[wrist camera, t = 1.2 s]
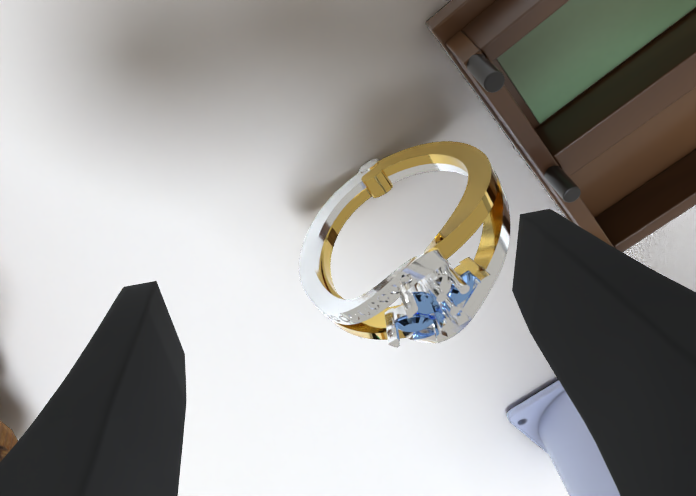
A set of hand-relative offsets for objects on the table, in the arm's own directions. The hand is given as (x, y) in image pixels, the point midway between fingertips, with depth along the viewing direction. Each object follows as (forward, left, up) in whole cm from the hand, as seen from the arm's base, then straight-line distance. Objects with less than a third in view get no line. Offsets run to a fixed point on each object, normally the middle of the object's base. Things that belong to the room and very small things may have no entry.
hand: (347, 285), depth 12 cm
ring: (-4, 0, -10) cm, 11 cm away
